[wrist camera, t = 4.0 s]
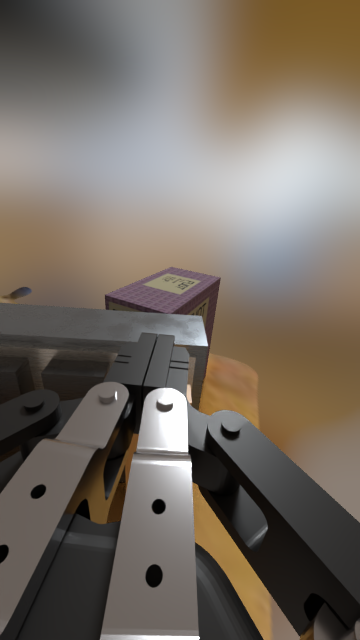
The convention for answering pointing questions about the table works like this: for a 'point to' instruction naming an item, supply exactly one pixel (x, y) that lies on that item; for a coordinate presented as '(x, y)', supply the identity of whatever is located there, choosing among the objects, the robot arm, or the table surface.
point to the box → (171, 296)
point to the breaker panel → (83, 348)
